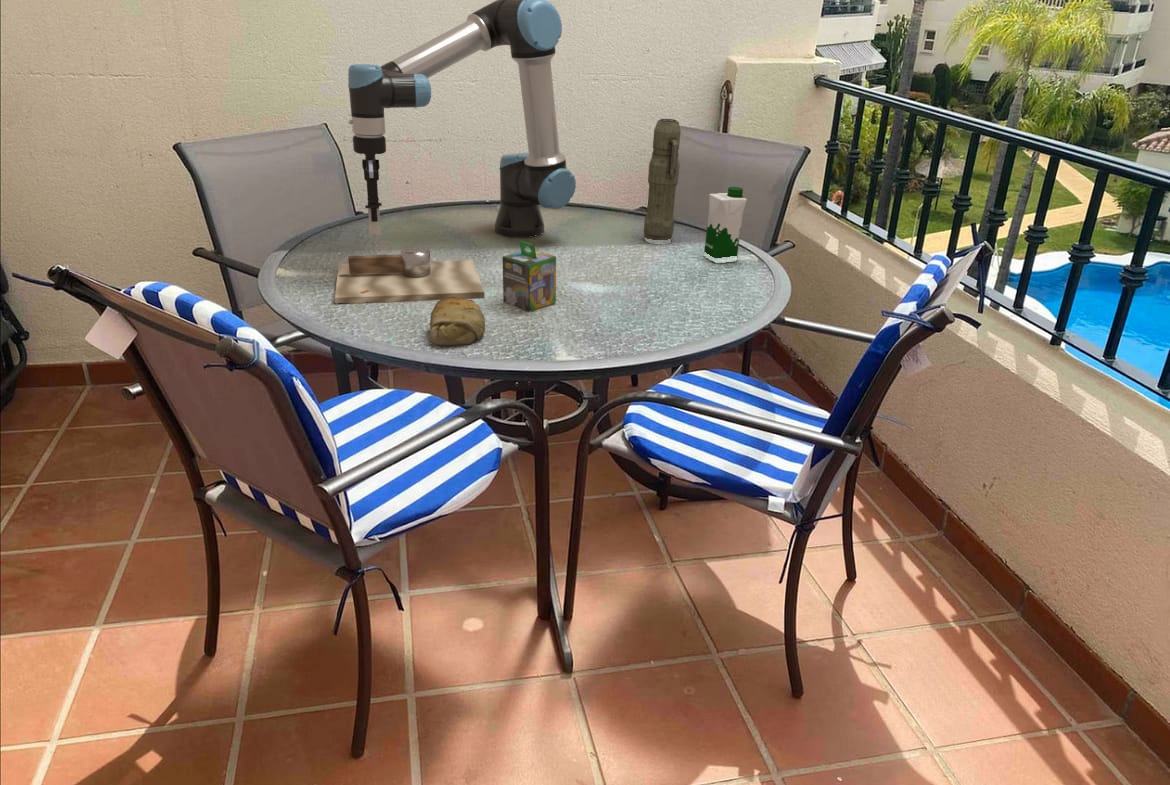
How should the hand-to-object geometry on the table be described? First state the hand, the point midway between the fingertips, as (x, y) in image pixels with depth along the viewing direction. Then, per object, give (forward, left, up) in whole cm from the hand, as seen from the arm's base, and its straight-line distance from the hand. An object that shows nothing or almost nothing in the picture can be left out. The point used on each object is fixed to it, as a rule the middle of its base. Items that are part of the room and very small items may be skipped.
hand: (375, 233), depth 196 cm
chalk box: (-34, +27, -10) cm, 45 cm away
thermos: (-82, -21, -10) cm, 86 cm away
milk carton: (-94, -1, -10) cm, 95 cm away
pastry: (-16, +44, -11) cm, 48 cm away
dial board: (-7, +10, -10) cm, 16 cm away
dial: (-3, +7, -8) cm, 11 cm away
